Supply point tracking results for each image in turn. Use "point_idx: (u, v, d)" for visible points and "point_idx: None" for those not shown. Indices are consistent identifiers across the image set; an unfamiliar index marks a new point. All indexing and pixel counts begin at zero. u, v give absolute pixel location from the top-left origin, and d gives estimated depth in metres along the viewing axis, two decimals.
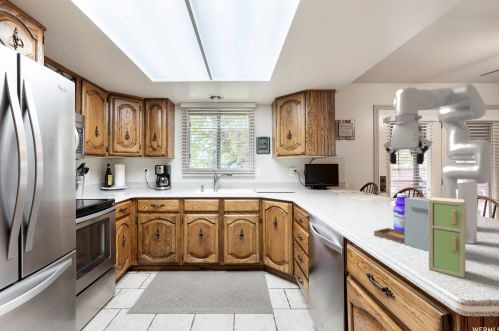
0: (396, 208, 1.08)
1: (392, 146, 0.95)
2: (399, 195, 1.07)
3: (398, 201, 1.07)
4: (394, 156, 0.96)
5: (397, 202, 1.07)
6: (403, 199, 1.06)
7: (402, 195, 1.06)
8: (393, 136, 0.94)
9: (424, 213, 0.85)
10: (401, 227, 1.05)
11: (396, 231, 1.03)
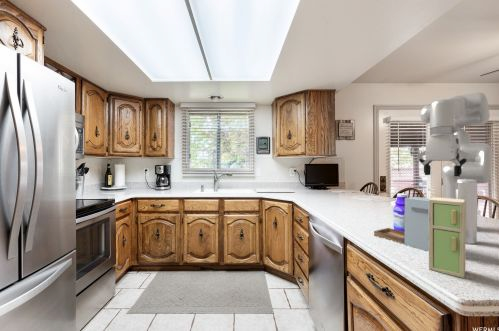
0: (396, 208, 1.08)
1: (427, 157, 0.95)
2: (399, 195, 1.07)
3: (399, 201, 1.07)
4: (428, 167, 0.96)
5: (397, 202, 1.07)
6: (403, 199, 1.06)
7: (402, 195, 1.06)
8: (428, 147, 0.94)
9: (424, 213, 0.85)
10: (401, 227, 1.05)
11: (396, 231, 1.03)
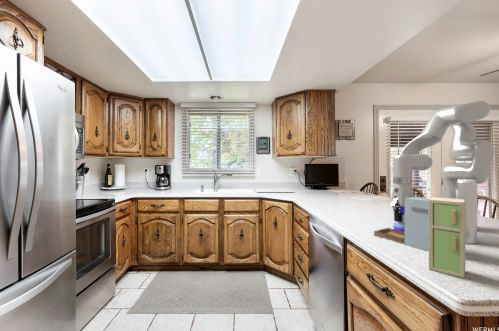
0: None
1: None
2: None
3: None
4: None
5: None
6: None
7: None
8: None
9: (424, 213, 0.85)
10: (401, 227, 1.05)
11: (396, 231, 1.03)
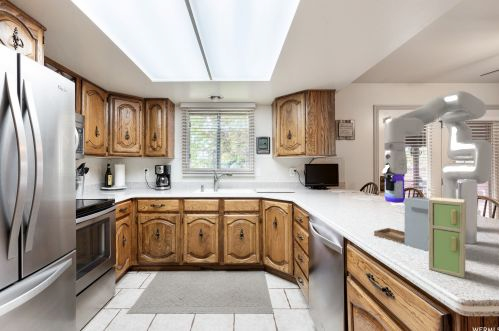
0: None
1: None
2: None
3: None
4: None
5: None
6: None
7: None
8: None
9: (424, 213, 0.85)
10: (393, 197, 0.97)
11: (396, 231, 1.03)
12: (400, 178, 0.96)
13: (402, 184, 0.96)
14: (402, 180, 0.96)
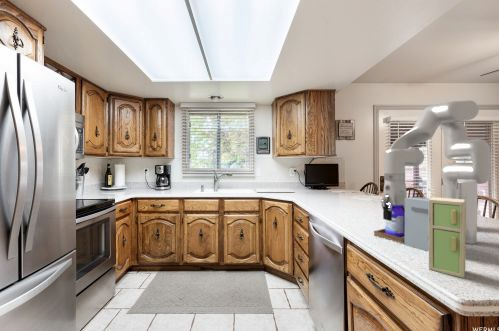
0: None
1: None
2: None
3: None
4: None
5: None
6: None
7: None
8: None
9: (424, 213, 0.85)
10: (394, 231, 0.97)
11: None
12: (401, 213, 0.96)
13: (403, 219, 0.96)
14: (403, 215, 0.96)
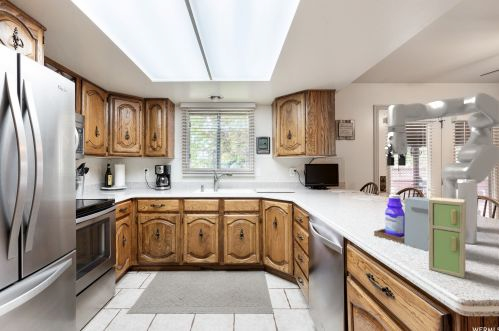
0: (388, 210, 0.99)
1: None
2: (391, 196, 0.99)
3: (391, 203, 0.99)
4: (401, 159, 1.16)
5: (389, 204, 0.99)
6: (396, 201, 0.98)
7: (395, 196, 0.98)
8: None
9: (424, 213, 0.85)
10: (394, 231, 0.97)
11: None
12: (401, 213, 0.96)
13: (403, 219, 0.96)
14: (403, 215, 0.96)
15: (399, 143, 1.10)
